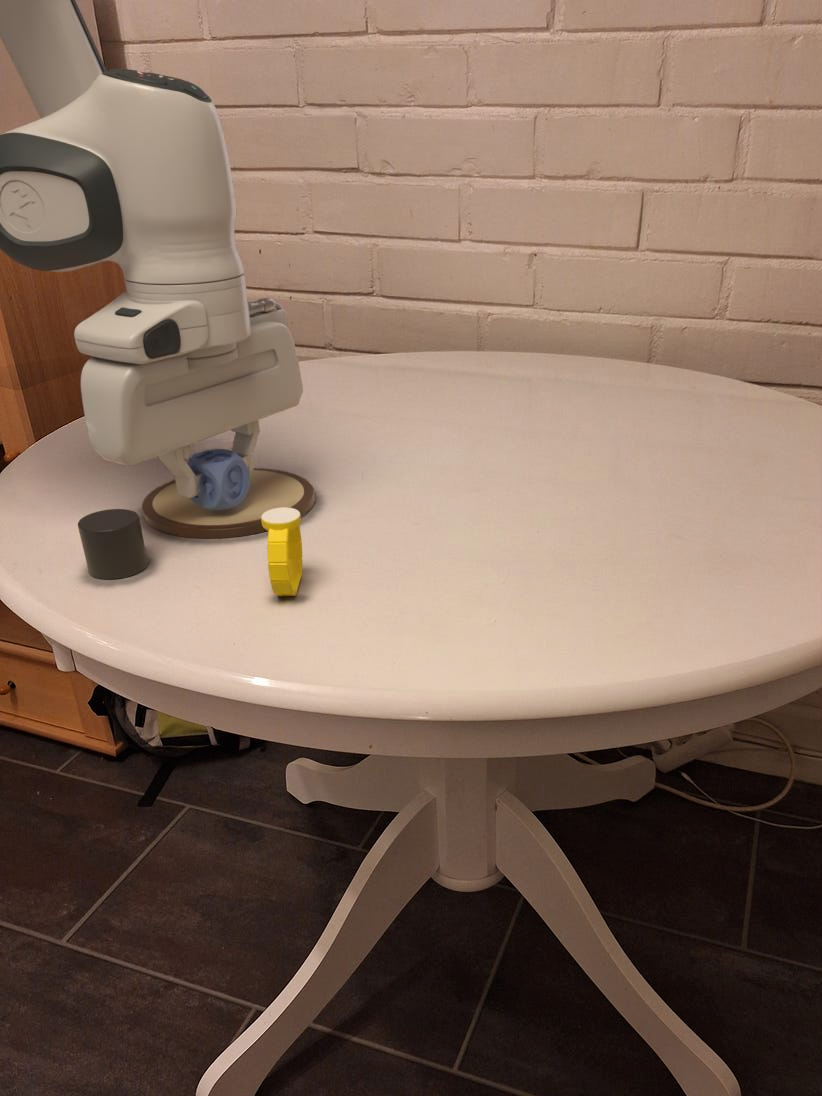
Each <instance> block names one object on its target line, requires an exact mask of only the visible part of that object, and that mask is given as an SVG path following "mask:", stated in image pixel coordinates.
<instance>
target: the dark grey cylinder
mask: <svg viewBox="0 0 822 1096" xmlns="http://www.w3.org/2000/svg"><path fill="white" fill-rule="evenodd" d="M77 528H78V532H79V537H80V541H81V545H82V550H83V554H84V557H85V562H86V566H87V570H88V573H89V574H90V576H91V577H94V578H96V579H99V580H119V579H124V578H125V579H126V578H129V577H132V576H135V575H137V574H139V573H140V572H143V571H144V570H146V568H147V567H148V564H149V560H148V555H147V550H146V545H145V540H144V536H143V529H142V526H141V520H140V516H139V514H138V513H137V512H136V511H133V510H131V509H126V508H125V509H124V508H110V509H109V508H108V509H103V510H99V511H95V512H92V513H88V514H86V515H84V516H83V517H81V518H80V519H79V520H78V522H77Z"/></svg>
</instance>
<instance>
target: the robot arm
mask: <svg viewBox="0 0 822 1096" xmlns="http://www.w3.org/2000/svg"><path fill="white" fill-rule="evenodd" d="M83 16H84V15H83V14H82V12H81V10H80V8H79V6H78V3H77V0H0V40H1V42H2V43H3V44H2V45H4V48H5V49H6V51H7V54H8V55H9V58H10V60H11V62H12V64H13V66H14V68H15V70H16V72H17V73H18V76H19V79H21V82H22V84H23V85H24V88H25V90H26V92H27V94H28V96H29V97H30V100H31V103H32V104H33V106H34V108H35V110H36V112H37V114H38V116H39V119H37V120H35V121H32V122H29V123H26V124H24V125H21V126H18V127H16V128H13V129H10V130H8V131H6V132H4V133H1V134H0V250H1V252H3V253H4V254H5V255H6V256H8V257H9V258H10V259H12V260H13V261H14V262H16V263H18V264H19V265H22V266H24V267H25V268H29V269H32V270H36V271H41V272H53V273H54V272H55V273H67V272H71V271H76V270H80V269H83V268H86V267H90V266H95V265H96V266H97V265H99V264H102V263H105V262H113V263H116V264H117V265H118V266H119V267H120V269H121V271H122V274H123V279H124V285H125V290H126V291H124V292H123V293H121V294H119V295H118V296H117V297H116V298H115V299H113V300H112V301H111V302H109V303H108V304H107V305H105V306H104V307H103V308H101V309H99V310H98V311H96V312H95V313H93V314H92V315H91V316H89V317H88V318H86V319H84V320H83V321H81V322H80V323H78V324H77V326H76V327H75V329H74V331H73V336H74V342H75V345H76V348H77V350H78V351H79V353H81V354H83V355H87V356H90V357H89V359H88V360H87V361H86V362H85V363H84V365H83V367H82V369H81V374H80V393H81V394H80V395H81V401H82V408H83V414H84V421H85V425H86V430H87V434H88V439H89V442H90V446H91V448H92V449H93V451H94V452H95V453H96V454H98V455H99V457H101V458H102V459H103V460H105V461H109V462H112V463H115V464H117V465H123V466H128V467H129V466H134V465H138V464H141V463H143V462H146V461H149V460H151V459H155V458H159V460H160V461H161V462H162V463H163V465H164V466H165V467H166V468H167V469H168V470H169V472H170V473H171V474H172V475H173V476H174V480H175V481H176V486H177V491H178V493H179V494H180V495H181V496H184V497H188V498H192V497H194V496H196V495H199V494H201V493H203V492H205V486H204V485H203V483H204V478H203V473H200V472H194V471H192V470H191V468H190V467H189V465H188V464H187V461H186V459H190V457H191V454H190V447H189V446H191V445H193V444H196V443H199V442H201V441H204V440H206V439H209V438H212V437H215V436H218V435H221V434H223V433H226V432H230V431H231V432H234V438H233V442H232V447H231V451H234V452H235V453H237V454H238V455H239V456H240V457H241V458H242V459H243V460H244V462H245V463H246V465H247V467H248V469H249V473H251V472H253V470H254V468H255V467H254V459H253V454H254V451H255V448H256V445H257V442H258V438H259V435H260V431H261V430H260V423H259V420H262V419H265V418H268V417H271V416H273V415H276V414H279V413H282V412H284V411H286V410H290V409H292V408H295V407H297V406H298V405H299V404H300V402H301V399H302V397H303V396H302V395H303V393H304V387H303V380H302V373H301V369H300V368H301V367H300V362H299V359H298V354H297V348H296V345H295V341H294V338H293V336H292V333H291V331H290V328H289V319H288V313H287V311H286V310H285V309H284V308H283V306H282V305H281V304H280V303H278V302H276V301H275V300H274V299H273V298H272V297H263V298H259V299H257V300H256V301H255V300H254V301H249V299H248V291H247V283H246V275H245V268H244V264H243V261H242V259H241V257H240V254H239V251H238V248H237V244H236V237H235V228H236V220H237V201H236V195H235V188H234V181H233V173H232V168H231V162H230V157H229V152H228V148H227V141H226V139H225V134H224V129H223V125H222V122H221V120H220V117H219V113H218V111H217V107H216V106H215V104H214V102H213V100H212V99H211V97H210V96H209V95H208V94H206V92H205V91H204V90H203V89H202V88H201V87H200V86H198V85H196V84H195V83H192V82H190V81H189V80H188V81H187V80H185V79H182V78H179V77H173V76H169V75H164V74H159V73H155V72H146V71H139V70H134V69H129V68H128V69H127V68H116V69H109V70H107V67H106V66H105V63H104V61H103V59H102V57H101V55H100V52H99V50H98V47H97V46H96V43H95V41H94V38H93V37H92V34H91V32H90V30H89V27H88V25H87V23H86V21H85V18H84V17H83Z"/></svg>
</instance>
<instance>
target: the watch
mask: <svg viewBox="0 0 822 1096" xmlns="http://www.w3.org/2000/svg"><path fill="white" fill-rule="evenodd" d="M261 522H262V526H263V528H264V529H266V530H269V531H267V532H268V533H267V567H268V575H269V582H270V586H271V588H272V592H273V593H274V594H275V595H276V596H278V597H296V596H297V593H298V590H299V585H300V582H301V579H302V578H303V542H302V533H301V526H300V525H301V523H302V517H301V516H300V512H299V511H298V510H296V509H293V508H287V507H282V508H274V509H271V510H268V511H266V512H265V513H263V515H262V516H261Z"/></svg>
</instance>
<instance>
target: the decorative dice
mask: <svg viewBox="0 0 822 1096" xmlns="http://www.w3.org/2000/svg"><path fill="white" fill-rule="evenodd" d="M186 463H187V464H188V465H189V467H190V468H191V470H192V471H194V472H200V473H203V478H204V483H203V485H204V486H205V492H203V493H201V494H199V495H196V496H194V497H192V498H191V500H192V501H193V502H194V503H195V504H197V505H198V506H200V507H201V508H204V509H209V510H221V509H228V508H232V507H235V506H237V505H239V504H240V503H242V501H243V500H244V499H245V498H246V496H247V494H248V491H249V488H250V473H249V469H248V467H247V465H246V463H245V462H244V460H243V459H242V458H241V457H240V456H239V455H238V454H237V453H235V452H234V451H232V449H231V450H230V449H225V448H215V449H205V450H201V451H198V452H196V453H193V454H192V455H190V457H189V458H188V460H187V461H186Z"/></svg>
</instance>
